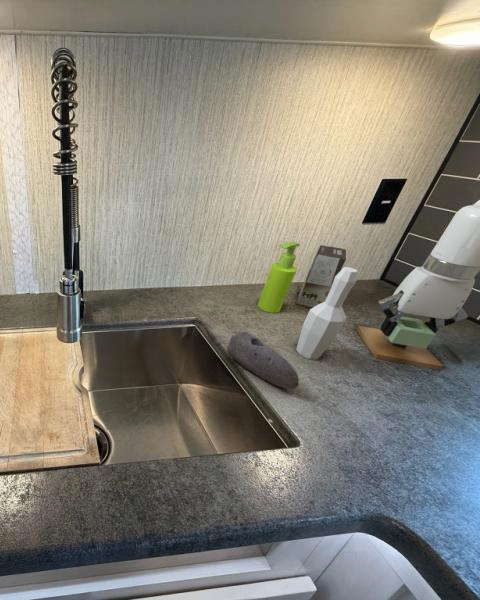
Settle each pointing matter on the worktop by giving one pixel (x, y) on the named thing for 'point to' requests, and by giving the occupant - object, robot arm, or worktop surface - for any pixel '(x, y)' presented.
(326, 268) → the coffee box
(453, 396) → the worktop surface
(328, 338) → the faceted bottle
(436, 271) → the robot arm
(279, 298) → the soap dispenser
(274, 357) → the perforated stone tool
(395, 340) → the sage block
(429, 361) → the base pad
